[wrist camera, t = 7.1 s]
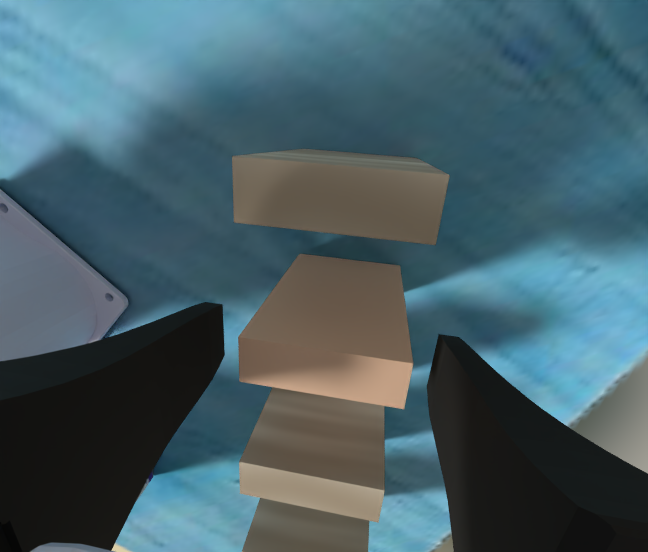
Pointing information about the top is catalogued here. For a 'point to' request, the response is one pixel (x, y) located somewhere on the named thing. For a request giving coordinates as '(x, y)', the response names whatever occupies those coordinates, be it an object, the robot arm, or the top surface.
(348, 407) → the domino
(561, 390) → the top surface
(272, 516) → the domino
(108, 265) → the top surface
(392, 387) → the domino
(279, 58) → the top surface
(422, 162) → the domino
